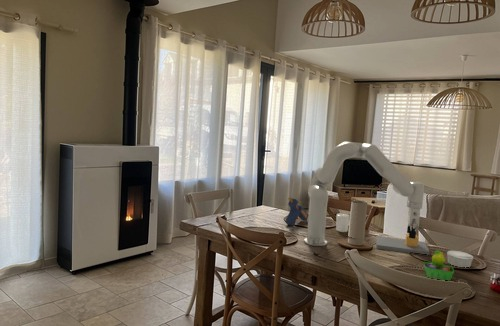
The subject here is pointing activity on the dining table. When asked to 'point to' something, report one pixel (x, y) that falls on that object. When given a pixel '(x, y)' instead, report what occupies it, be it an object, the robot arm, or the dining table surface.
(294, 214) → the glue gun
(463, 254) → the ramekin
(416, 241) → the orange cube
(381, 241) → the grey flat board
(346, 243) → the dining table surface
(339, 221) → the white cup
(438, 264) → the fruit basket
